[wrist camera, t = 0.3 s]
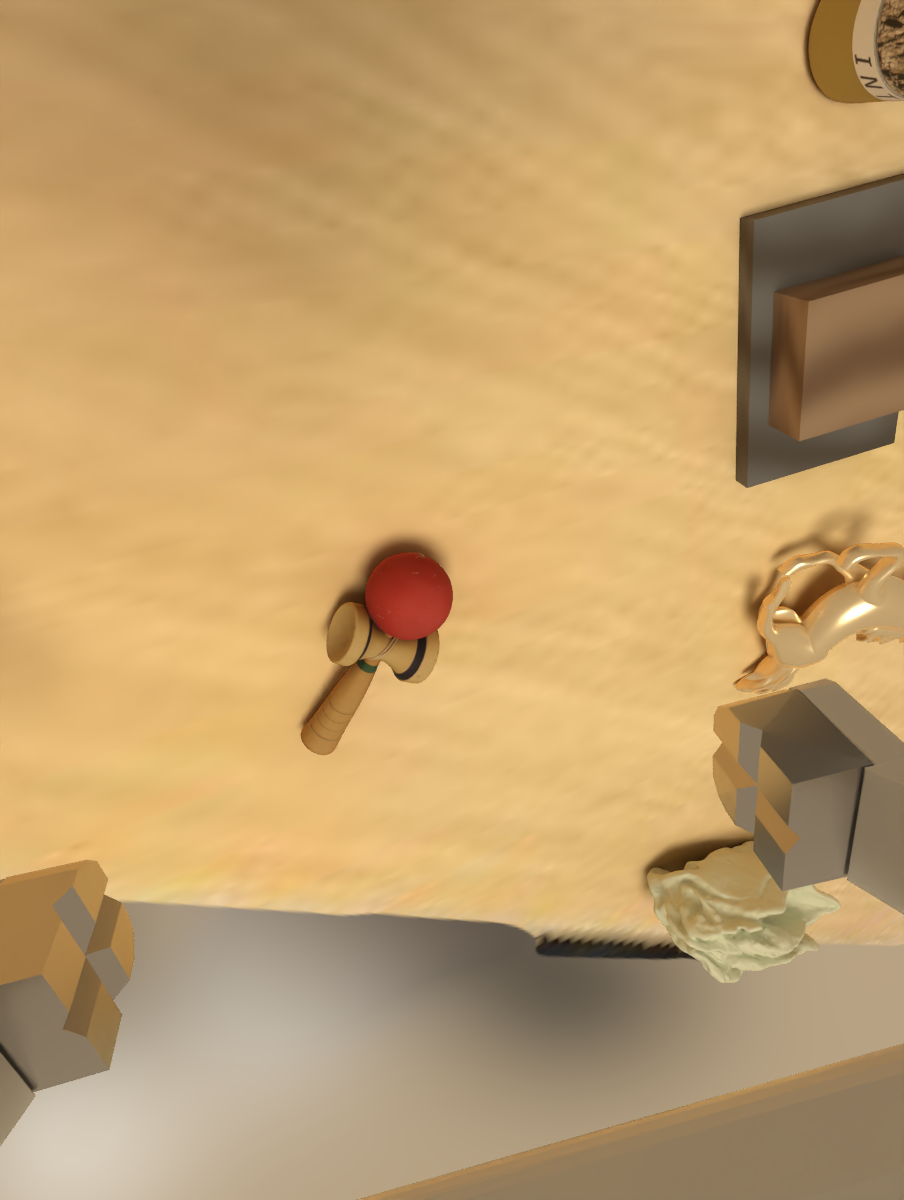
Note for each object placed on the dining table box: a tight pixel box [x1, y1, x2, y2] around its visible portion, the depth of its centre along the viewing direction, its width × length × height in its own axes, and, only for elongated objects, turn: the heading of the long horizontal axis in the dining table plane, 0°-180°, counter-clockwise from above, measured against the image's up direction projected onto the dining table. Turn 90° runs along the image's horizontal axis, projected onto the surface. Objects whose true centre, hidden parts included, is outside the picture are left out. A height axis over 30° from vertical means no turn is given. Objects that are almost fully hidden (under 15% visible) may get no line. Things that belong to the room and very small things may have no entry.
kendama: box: [301, 552, 453, 755], centre depth 53 cm, size 8×6×18 cm
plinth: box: [736, 174, 904, 488], centre depth 49 cm, size 18×12×5 cm, turn 12°
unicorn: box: [735, 542, 904, 694], centre depth 62 cm, size 20×4×17 cm
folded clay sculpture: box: [647, 841, 840, 983], centre depth 76 cm, size 18×13×16 cm
